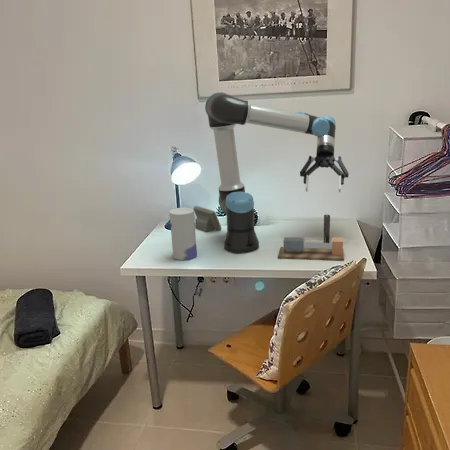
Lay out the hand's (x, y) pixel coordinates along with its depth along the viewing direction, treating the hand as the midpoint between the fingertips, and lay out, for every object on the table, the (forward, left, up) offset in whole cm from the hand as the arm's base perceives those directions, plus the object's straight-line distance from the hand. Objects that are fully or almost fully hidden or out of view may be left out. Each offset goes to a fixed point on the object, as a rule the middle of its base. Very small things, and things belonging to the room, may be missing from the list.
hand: (323, 190), depth 210 cm
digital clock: (-55, +17, -24) cm, 63 cm away
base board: (-5, -13, -24) cm, 28 cm away
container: (-56, -19, -24) cm, 64 cm away
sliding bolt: (-1, -13, -21) cm, 24 cm away
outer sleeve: (-11, -13, -23) cm, 29 cm away
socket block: (+6, -13, -23) cm, 27 cm away
